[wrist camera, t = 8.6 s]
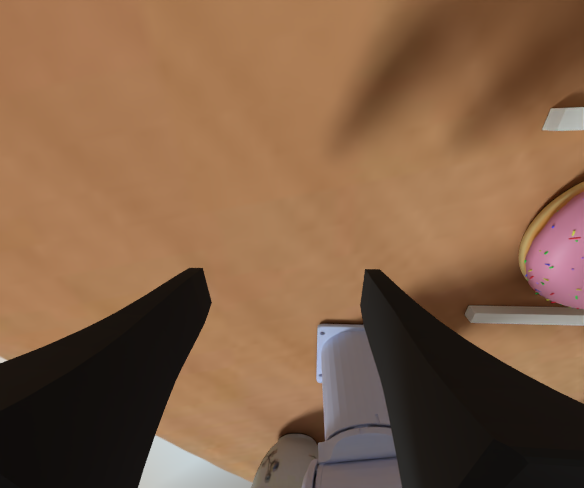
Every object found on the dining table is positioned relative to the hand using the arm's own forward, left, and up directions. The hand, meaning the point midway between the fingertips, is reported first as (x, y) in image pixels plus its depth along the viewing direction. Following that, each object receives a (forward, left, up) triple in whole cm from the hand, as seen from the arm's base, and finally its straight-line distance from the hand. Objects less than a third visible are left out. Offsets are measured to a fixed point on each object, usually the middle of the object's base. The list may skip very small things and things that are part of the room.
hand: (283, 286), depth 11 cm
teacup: (-39, 0, -10) cm, 40 cm away
